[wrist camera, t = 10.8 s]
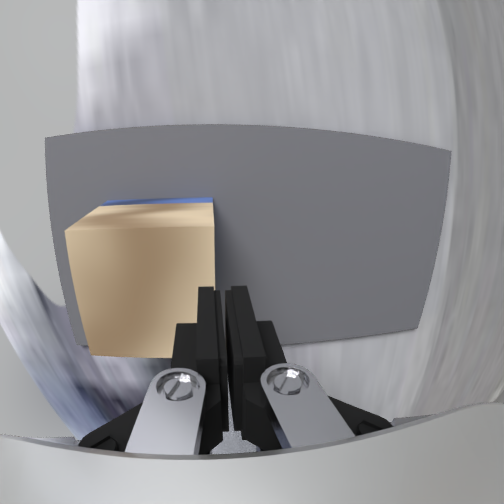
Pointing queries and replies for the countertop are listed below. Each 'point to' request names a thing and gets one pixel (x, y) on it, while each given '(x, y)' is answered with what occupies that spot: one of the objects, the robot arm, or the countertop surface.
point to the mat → (276, 216)
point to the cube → (141, 272)
